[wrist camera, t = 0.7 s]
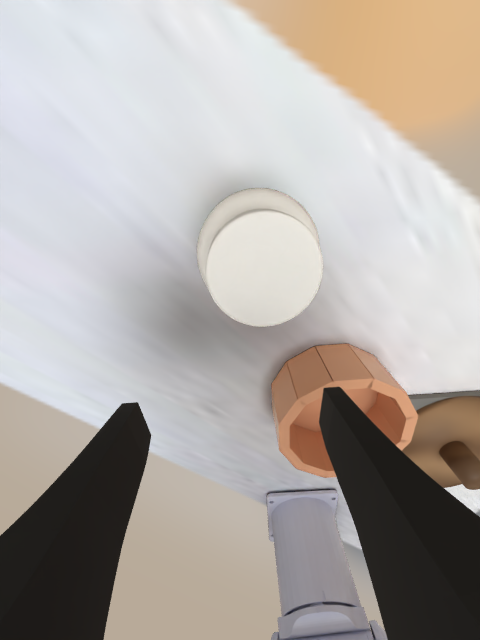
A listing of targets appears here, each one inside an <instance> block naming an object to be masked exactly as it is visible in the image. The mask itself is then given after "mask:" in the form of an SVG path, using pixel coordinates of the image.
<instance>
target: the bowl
mask: <svg viewBox="0 0 480 640" xmlns="http://www.w3.org/2000/svg"><path fill="white" fill-rule="evenodd" d="M327 387H341V388H342V389H343V390H344V391H345V393H346V394H347V395H348V396H349V397H350V398H351V399H352V400H353V402H354V403H355V404H356V405H357V406H358V407H359V408H360V409H361V410H362V411H363V412H364V413H365V415H366V416H367V417H368V418H369V419H370V420H371V421H372V422H373V423H374V424H375V425H376V426H377V427H378V428H379V429H380V430H381V431H382V432H383V433H384V434H385V435H386V436H387V437H388V438H389V439H390V440H391V441H392V442H393V443H394V444H395V445H396V446H397V447H398V448H399V449H400V450H401V451H402V450H403V449H404V448H405V447H406V446H407V445H408V444H409V443H410V442H411V440H412V436H413V433H414V430H415V426H416V423H417V419H418V414H417V412H416V410H415V408H414V406H413V405H412V403H411V401H410V399H409V397H408V395H407V393H406V392H405V390H404V389H403V388H402V387H401V386H400V385H399V384H398V382H397V381H396V380H395V379H394V378H393V377H392V376H391V374H390V373H389V372H388V371H387V370H386V369H385V368H384V366H383V365H382V364H381V363H380V362H379V361H378V360H377V358H376V357H375V356H374V355H372V354H370V353H368V352H365V351H363V350H361V349H359V348H356V347H354V346H352V345H350V344H334V345H320V346H315V347H312V348H310V349H308V350H306V351H304V352H303V353H301V354H299V355H297V356H295V357H294V358H292V359H290V360H288V361H287V362H286V363H285V364H284V366H283V367H282V369H281V370H280V372H279V373H278V375H277V376H276V378H275V379H274V381H273V383H272V385H271V390H272V409H273V415H274V421H275V428H276V434H277V440H278V446H279V450H280V452H281V453H282V454H283V455H284V456H285V457H286V458H287V459H288V460H289V461H290V463H291V464H292V465H293V466H294V467H295V468H297V469H299V470H302V471H305V472H308V473H311V474H314V475H317V476H320V477H324V478H327V477H337V476H336V474H335V471H334V469H333V466H332V463H331V461H330V458H329V456H328V453H327V450H326V447H325V444H324V440H323V436H322V432H321V429H320V425H319V417H320V410H321V403H322V396H323V389H324V388H327Z"/></svg>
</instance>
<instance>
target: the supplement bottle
mask: <svg viewBox="0 0 480 640" xmlns="http://www.w3.org/2000/svg"><path fill="white" fill-rule="evenodd" d="M197 261H198V267H199V270H200V274H201V276H202V279H203V281H204V283H205V285H206V286H207V288H208V289H209V292H210V294H211V296H212V298H213V300H214V302H215V303H216V304H217V306H218V307H219V308H220V309H221V310H222V311H223V312H224V313H225V314H226V315H228V316H229V317H231V318H232V319H234V320H236V321H238V322H240V323H243V324H246V325H250V326H256V327H268V326H274V325H278V324H281V323H284V322H287V321H289V320H291V319H293V318H294V317H296V316H297V315H298V314H300V313H301V312H302V311H303V310H304V309H305V308H306V307H307V306H308V305H309V304H310V303H311V301H312V300H313V298H314V297H315V295H316V293H317V291H318V289H319V287H320V283H321V280H322V273H323V259H322V254H321V249H320V245H319V237H318V232H317V229H316V227H315V224H314V222H313V220H312V218H311V217H310V215H309V214H308V212H307V211H306V210H305V209H304V207H303V206H302V205H301V204H300V203H299V202H297V201H296V200H295V199H293V198H292V197H290V196H288V195H286V194H284V193H282V192H279V191H277V190H273V189H268V188H251V189H246V190H242V191H239V192H237V193H234V194H232V195H230V196H229V197H227V198H225V199H224V200H223V201H221V202H220V203H219V204H218V205H217V206H216V207H215V208H214V209H213V210H212V211H211V213H210V214H209V216H208V217H207V219H206V220H205V222H204V224H203V226H202V228H201V231H200V235H199V238H198V244H197Z"/></svg>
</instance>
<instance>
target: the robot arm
mask: <svg viewBox="0 0 480 640" xmlns="http://www.w3.org/2000/svg"><path fill="white" fill-rule="evenodd" d="M319 425H320V429H321V432H322V436H323V440H324V444H325V447H326V450H327V453H328V456H329V458H330V461H331V463H332V466H333V469H334V471H335V474H336V476H337V479H338V482H339V484H340V487H341V489H342V492H343V494H344V497H345V500H346V502H347V505H348V507H349V510H350V513H351V515H352V518H353V521H354V524H355V527H356V530H357V533H358V536H359V540H360V543H361V546H362V550H363V553H364V557H365V560H366V563H367V567H368V570H369V574H370V577H371V581H372V584H373V588H374V591H375V595H376V598H377V602H378V606H379V609H380V613H381V617H382V620H383V624H384V628H385V630H384V629H383V628H382V627H381V626H380V625H378V623H377V621H375V620H372V621H369V623H370V627H371V630H370V627H369V624H368V621H367V617H366V614H365V611H364V608H363V607H361V604H360V600H359V597H358V594H357V590H356V587H355V584H354V580H353V577H352V574H351V571H350V568H349V564H348V561H347V558H346V554H345V551H344V548H343V544H342V541H341V538H340V534H339V531H338V528H337V524H336V521H335V515H336V508H337V500H338V493H337V491H336V490H322V491H305V492H287V493H270V494H268V495H267V510H268V527H269V540H270V541H272V542H274V546H275V556H276V565H277V574H278V584H279V593H280V603H281V612H282V617H279V618H278V627H279V632H274V633H273V635H272V638H271V640H480V517H479V516H478V515H476V514H475V513H474V512H473V511H471V510H470V509H469V508H467V507H466V506H465V505H464V504H463V503H461V502H460V501H459V500H458V499H456V498H455V497H454V496H453V495H451V494H450V493H449V492H448V491H446V490H445V489H444V488H443V487H442V486H441V485H439V484H438V483H437V482H436V481H435V480H433V479H432V478H431V477H430V476H429V475H428V474H426V473H425V472H424V471H423V470H422V469H421V468H420V467H419V466H417V465H416V464H415V463H414V462H413V461H412V460H411V459H410V458H409V457H408V456H407V455H406V454H404V453H403V452H402V451H401V450H400V449H399V448H398V447H397V446H396V445H395V444H394V443H393V442H392V441H391V440H390V439H389V438H388V437H387V436H386V435H385V434H384V433H383V432H382V431H381V430H380V429H379V428H378V427H377V426H376V425H375V424H374V423H373V422H372V421H371V420H370V419H369V418H368V417H367V416H366V415H365V413H364V412H363V411H362V410H361V409H360V408H359V407H358V406H357V405H356V404H355V403H354V402H353V400H352V399H351V398H350V397H349V396H348V395H347V394H346V393H345V391H344V390H343V389H342V388H341V387H327V388H324V389H323V396H322V403H321V410H320V417H319ZM150 439H151V433H150V431H149V429H148V426H147V424H146V421H145V419H144V416H143V414H142V412H141V409H140V407H139V404H138V402H137V403H124V404H121V406H120V407H119V408H118V409H117V410H116V411H115V413H114V414H113V415H112V416H111V417H110V419H109V420H108V421H107V422H106V423H105V425H104V426H103V427H102V428H101V429H100V431H99V432H98V433H97V434H96V435H95V437H94V438H93V439H92V440H91V441H90V442H89V444H88V445H87V446H86V447H85V448H84V449H83V451H82V452H81V453H80V454H79V455H78V457H77V458H76V459H75V460H74V461H73V462H72V463H71V464H70V466H69V467H68V468H67V469H66V470H65V471H64V472H63V473H62V474H61V475H60V476H59V477H58V479H57V480H56V481H55V482H54V483H53V484H52V485H51V486H50V487H49V488H48V489H47V490H46V491H45V492H44V494H43V495H42V496H41V497H40V498H39V499H38V500H37V501H36V502H35V503H34V504H33V505H32V506H31V507H30V508H29V509H28V510H27V511H26V512H25V513H24V514H23V515H22V516H21V517H20V518H19V519H18V520H17V521H15V523H14V524H12V525H11V526H10V527H9V529H7V530H6V531H5V532H4V533H3V534H2V535H1V536H0V640H103V639H104V633H105V627H106V622H107V616H108V611H109V606H110V601H111V595H112V591H113V585H114V581H115V576H116V571H117V567H118V562H119V557H120V553H121V548H122V544H123V540H124V537H125V533H126V529H127V526H128V522H129V519H130V516H131V513H132V509H133V506H134V503H135V499H136V496H137V492H138V489H139V486H140V482H141V479H142V476H143V472H144V468H145V465H146V461H147V456H148V451H149V445H150ZM371 631H372V633H371ZM372 635H373V636H372Z"/></svg>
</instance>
